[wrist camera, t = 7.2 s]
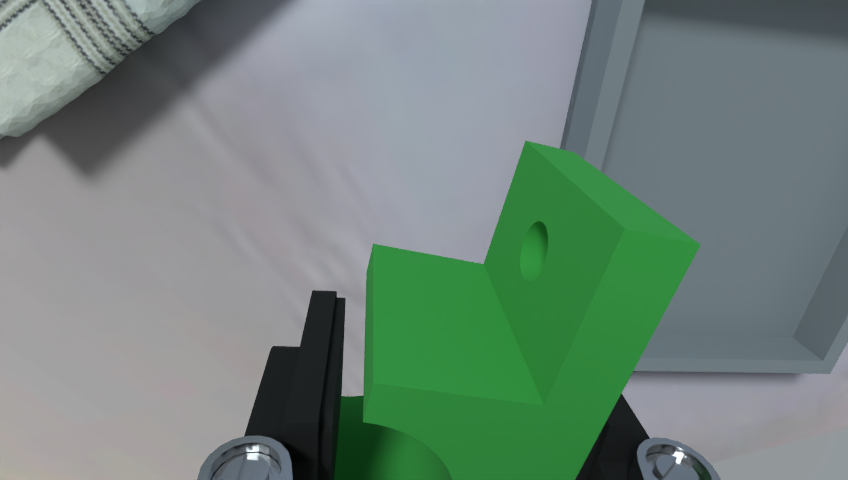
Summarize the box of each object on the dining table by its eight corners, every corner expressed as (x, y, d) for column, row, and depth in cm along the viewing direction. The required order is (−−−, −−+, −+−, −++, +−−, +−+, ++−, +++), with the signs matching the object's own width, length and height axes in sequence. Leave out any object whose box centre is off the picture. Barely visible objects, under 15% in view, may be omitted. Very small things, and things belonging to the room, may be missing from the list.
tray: (970, -14, 20) (1046, -17, 18) (792, 344, 28) (830, 373, 25) (607, -66, 18) (641, -78, 16) (518, 337, 25) (533, 369, 23)
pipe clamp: (402, 109, 10) (426, 182, 6) (572, 150, 10) (704, 240, 6) (314, 494, 14) (291, 695, 10) (438, 505, 15) (465, 696, 11)
